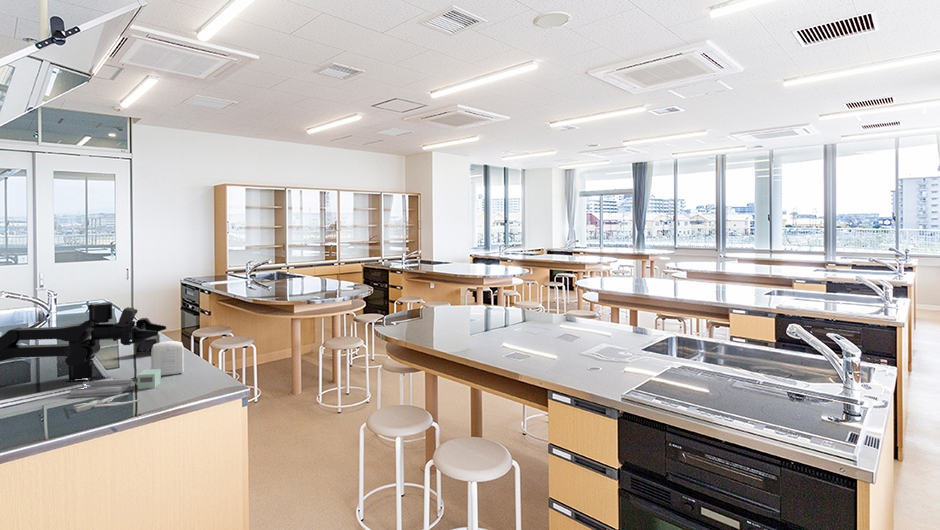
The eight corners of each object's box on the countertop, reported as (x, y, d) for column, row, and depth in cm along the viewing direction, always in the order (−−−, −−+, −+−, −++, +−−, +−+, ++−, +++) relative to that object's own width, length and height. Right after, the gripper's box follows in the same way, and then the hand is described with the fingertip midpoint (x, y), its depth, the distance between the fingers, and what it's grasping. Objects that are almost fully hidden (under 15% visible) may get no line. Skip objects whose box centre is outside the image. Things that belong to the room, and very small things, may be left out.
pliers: (139, 397, 151) (80, 410, 139) (139, 402, 151) (80, 416, 139) (128, 390, 157) (69, 402, 145) (128, 394, 157) (70, 407, 145)
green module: (137, 389, 161) (137, 375, 161) (144, 383, 167) (144, 369, 167) (154, 388, 163) (154, 374, 162) (160, 382, 169) (160, 368, 168)
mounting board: (67, 398, 151) (67, 392, 151) (86, 385, 163) (86, 379, 163) (119, 395, 155) (119, 389, 155) (134, 382, 167) (134, 377, 167)
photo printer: (183, 370, 183) (183, 338, 182) (184, 373, 179) (183, 341, 178) (151, 374, 177) (150, 341, 176) (151, 377, 173) (150, 344, 172)
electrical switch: (161, 352, 207) (160, 331, 206) (159, 356, 203) (158, 335, 201) (134, 354, 203) (133, 333, 201) (132, 358, 198) (131, 337, 197)
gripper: (100, 314, 162) (153, 313, 167) (122, 305, 180) (169, 304, 184) (101, 346, 163) (153, 344, 167) (123, 334, 181) (170, 332, 185)
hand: (162, 330), depth 176 cm, fingers open, 9 cm apart
